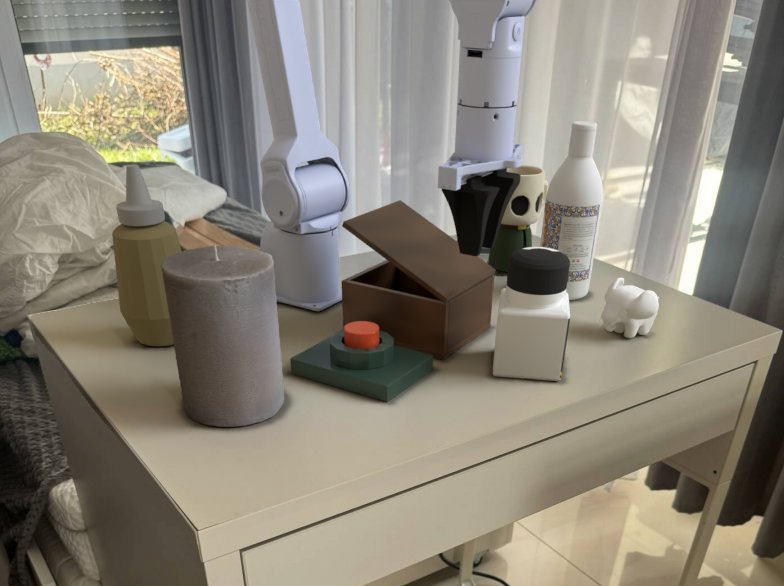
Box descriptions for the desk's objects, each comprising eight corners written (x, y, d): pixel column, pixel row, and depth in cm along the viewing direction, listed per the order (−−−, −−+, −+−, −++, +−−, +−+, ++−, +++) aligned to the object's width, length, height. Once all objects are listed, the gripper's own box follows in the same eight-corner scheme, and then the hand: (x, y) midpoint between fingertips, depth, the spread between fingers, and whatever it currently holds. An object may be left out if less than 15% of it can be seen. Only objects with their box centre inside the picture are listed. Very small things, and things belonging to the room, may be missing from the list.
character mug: (494, 282, 105) (503, 179, 97) (463, 268, 110) (469, 168, 102) (554, 269, 110) (567, 170, 102) (522, 256, 114) (532, 160, 107)
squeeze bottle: (112, 337, 88) (74, 165, 77) (173, 319, 92) (145, 154, 82) (152, 358, 83) (117, 178, 72) (214, 337, 88) (190, 166, 77)
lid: (341, 226, 82) (343, 221, 82) (398, 204, 90) (400, 199, 90) (445, 303, 80) (447, 298, 80) (493, 274, 88) (496, 270, 88)
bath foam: (541, 281, 106) (562, 116, 94) (592, 288, 104) (619, 120, 92) (529, 297, 100) (548, 124, 88) (582, 304, 98) (609, 129, 86)
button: (337, 345, 79) (336, 329, 78) (357, 334, 81) (357, 318, 80) (366, 353, 78) (366, 336, 76) (386, 341, 80) (386, 325, 79)
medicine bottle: (560, 382, 80) (578, 265, 73) (492, 377, 81) (502, 260, 74) (559, 355, 86) (575, 243, 78) (495, 350, 86) (505, 239, 79)
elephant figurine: (581, 329, 92) (589, 279, 88) (632, 318, 95) (642, 269, 91) (620, 350, 87) (630, 298, 83) (672, 337, 90) (684, 287, 87)
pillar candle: (167, 399, 76) (138, 241, 67) (256, 374, 80) (239, 224, 71) (213, 439, 69) (187, 271, 60) (305, 409, 74) (294, 249, 65)
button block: (290, 373, 81) (288, 341, 79) (341, 345, 87) (339, 315, 85) (387, 402, 76) (387, 369, 74) (432, 370, 82) (434, 338, 80)
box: (343, 334, 90) (341, 280, 86) (395, 305, 97) (395, 255, 94) (443, 360, 84) (446, 304, 80) (490, 327, 92) (494, 275, 88)
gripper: (490, 117, 67) (478, 275, 75) (555, 99, 77) (539, 240, 85) (420, 110, 70) (416, 262, 78) (492, 93, 80) (482, 230, 88)
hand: (476, 250), depth 82 cm, fingers open, 3 cm apart
